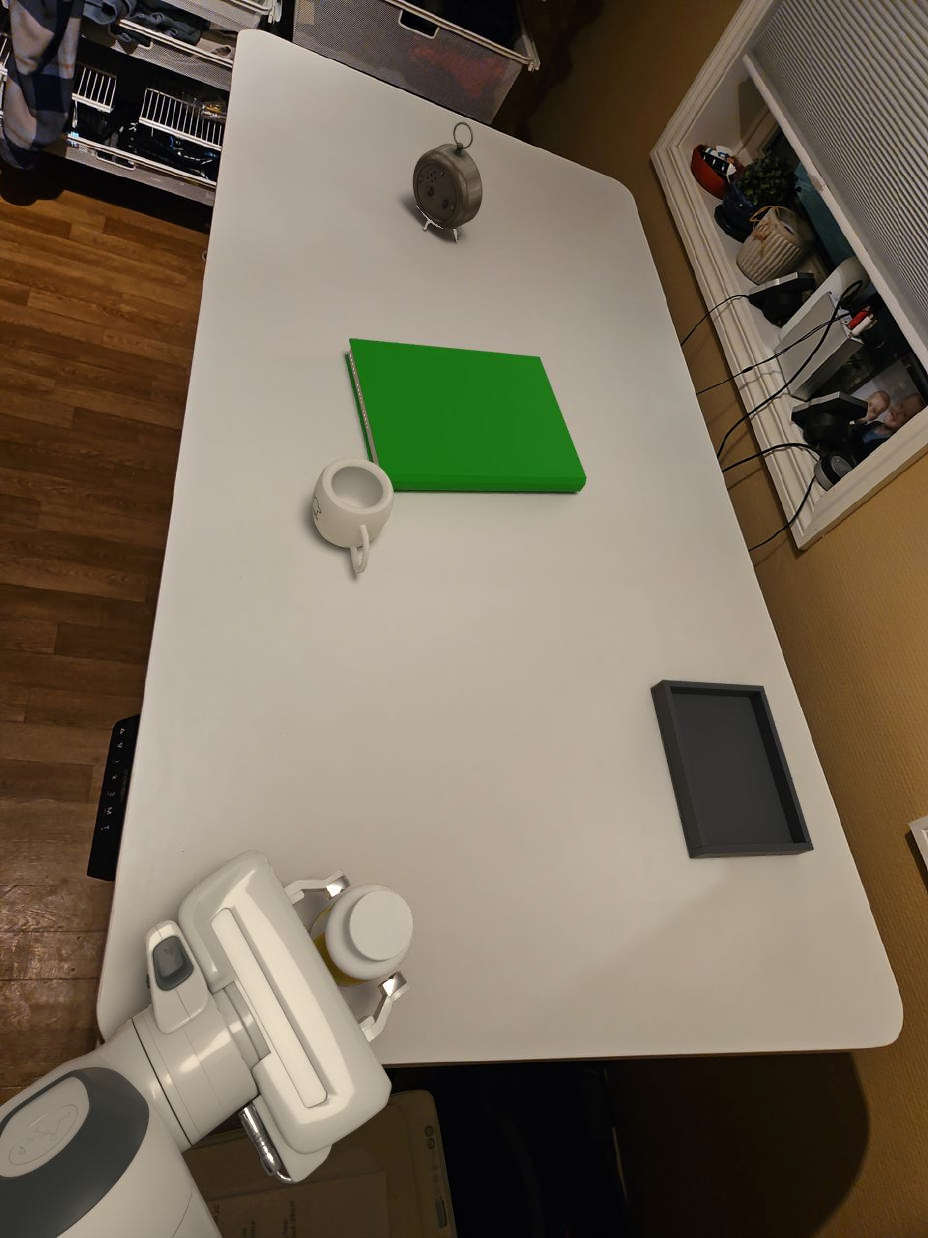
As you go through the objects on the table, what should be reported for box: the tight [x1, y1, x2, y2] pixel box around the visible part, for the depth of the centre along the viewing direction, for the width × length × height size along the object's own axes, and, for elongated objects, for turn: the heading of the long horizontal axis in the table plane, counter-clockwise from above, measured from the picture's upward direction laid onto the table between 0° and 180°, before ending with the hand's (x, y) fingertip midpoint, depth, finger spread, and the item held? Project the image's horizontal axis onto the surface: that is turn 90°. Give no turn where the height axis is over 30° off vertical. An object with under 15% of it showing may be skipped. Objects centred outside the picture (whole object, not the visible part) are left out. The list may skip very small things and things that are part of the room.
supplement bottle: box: [309, 883, 414, 987], centre depth 56 cm, size 7×7×13 cm
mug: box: [311, 456, 395, 574], centre depth 78 cm, size 12×8×8 cm
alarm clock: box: [412, 121, 484, 231], centre depth 109 cm, size 11×5×16 cm, turn 51°
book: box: [344, 337, 588, 493], centre depth 95 cm, size 22×28×3 cm
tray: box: [650, 679, 815, 860], centre depth 82 cm, size 20×15×3 cm
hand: (374, 927), depth 56 cm, fingers open, 7 cm apart
